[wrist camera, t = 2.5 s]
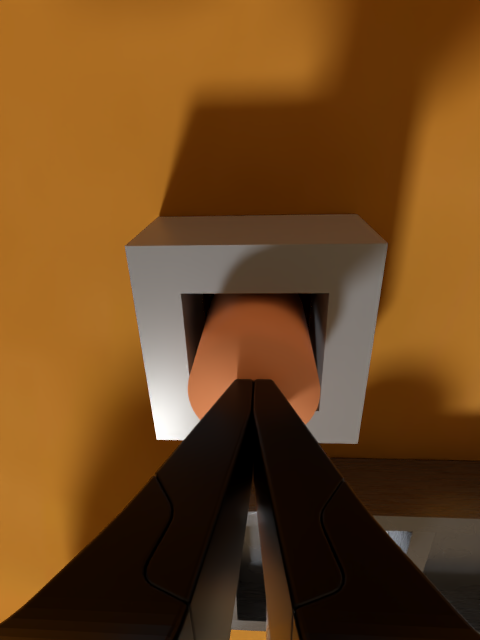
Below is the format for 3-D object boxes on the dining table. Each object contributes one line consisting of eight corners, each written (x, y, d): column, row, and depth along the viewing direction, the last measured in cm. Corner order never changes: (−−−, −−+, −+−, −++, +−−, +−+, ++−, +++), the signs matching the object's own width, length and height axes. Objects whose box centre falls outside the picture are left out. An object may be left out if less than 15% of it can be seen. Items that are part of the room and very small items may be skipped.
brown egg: (306, 271, 11) (325, 336, 8) (301, 356, 13) (316, 444, 9) (206, 271, 12) (181, 336, 8) (212, 355, 13) (192, 442, 9)
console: (356, 213, 11) (387, 243, 9) (338, 379, 14) (357, 443, 11) (158, 216, 12) (124, 246, 9) (177, 377, 14) (156, 439, 12)
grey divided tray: (602, 464, 15) (662, 524, 13) (536, 582, 19) (574, 646, 17) (217, 455, 16) (209, 510, 14) (225, 570, 20) (220, 628, 18)
